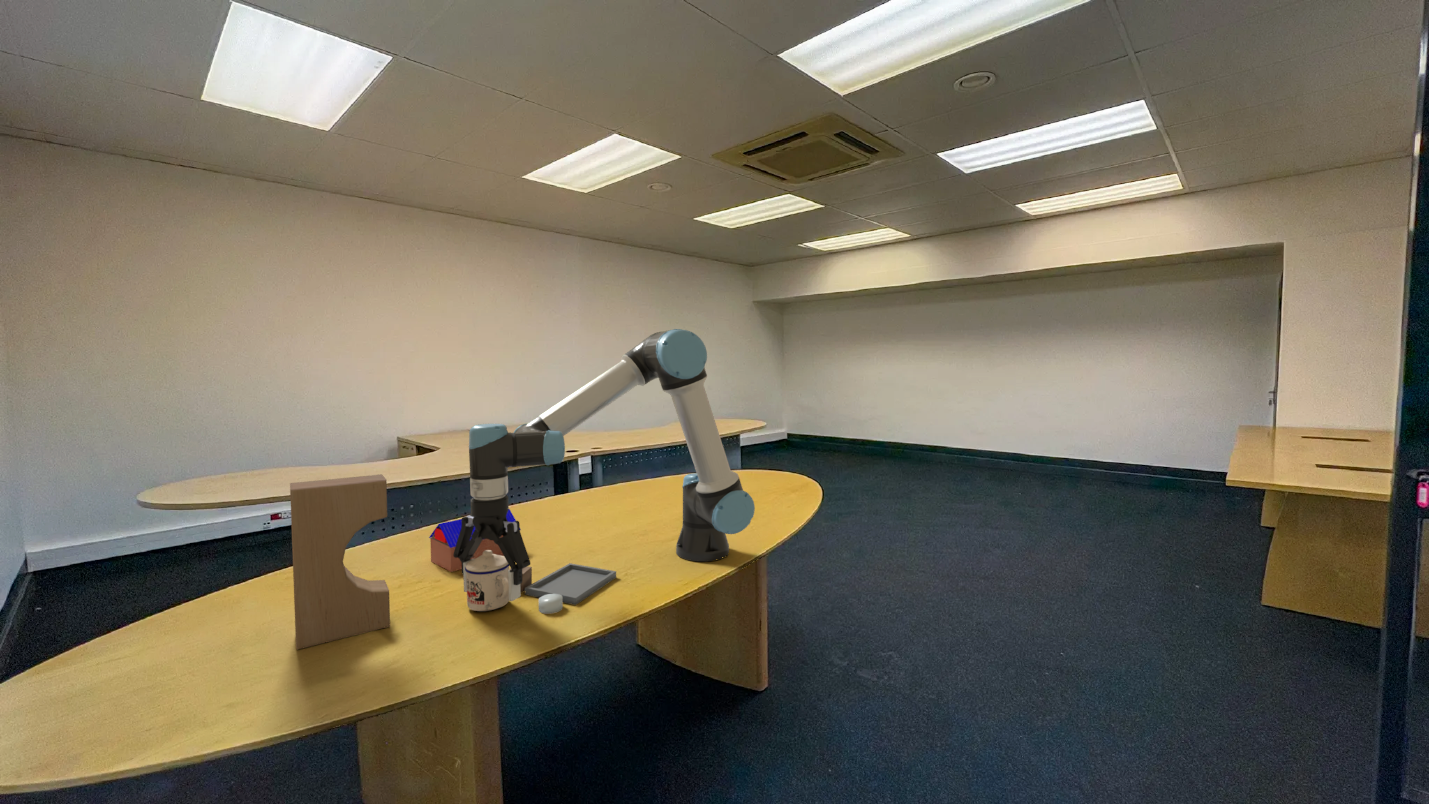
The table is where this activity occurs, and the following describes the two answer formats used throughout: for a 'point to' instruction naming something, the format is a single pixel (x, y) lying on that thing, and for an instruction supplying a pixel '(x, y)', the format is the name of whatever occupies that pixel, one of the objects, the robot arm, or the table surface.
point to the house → (447, 540)
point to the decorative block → (334, 559)
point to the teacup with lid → (487, 582)
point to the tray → (571, 583)
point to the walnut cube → (526, 578)
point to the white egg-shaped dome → (550, 603)
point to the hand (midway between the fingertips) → (491, 594)
